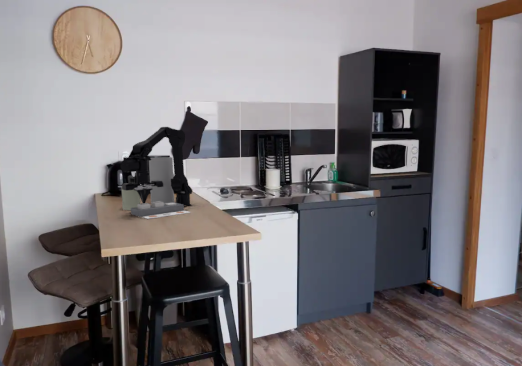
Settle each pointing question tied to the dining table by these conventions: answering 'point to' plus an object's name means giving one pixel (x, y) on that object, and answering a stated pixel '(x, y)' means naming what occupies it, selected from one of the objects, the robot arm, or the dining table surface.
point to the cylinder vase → (161, 179)
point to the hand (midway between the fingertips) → (143, 203)
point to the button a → (143, 206)
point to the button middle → (157, 204)
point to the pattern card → (166, 214)
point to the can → (130, 199)
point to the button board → (157, 210)
